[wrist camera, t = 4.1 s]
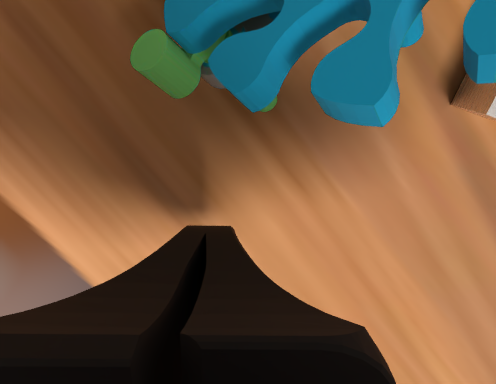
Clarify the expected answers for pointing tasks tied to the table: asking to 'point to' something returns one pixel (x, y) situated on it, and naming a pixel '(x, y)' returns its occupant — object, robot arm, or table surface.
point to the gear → (301, 50)
